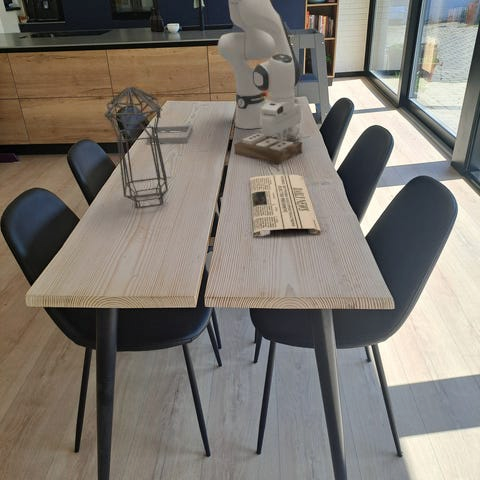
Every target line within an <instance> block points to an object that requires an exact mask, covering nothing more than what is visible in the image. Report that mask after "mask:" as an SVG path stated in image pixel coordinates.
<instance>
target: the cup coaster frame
mask: <svg viewBox="0 0 480 480" xmlns="http://www.w3.org/2000/svg"><path fill="white" fill-rule="evenodd" d="M155 128H156V126H155ZM193 129H194V128H193V125H167V126H157V131H158V132H161V131H165V132H167V133H171V132H170V131H187V132H185V135H184V136H167V137H158V139H159V143H175V144H188V143H189V141H188V140H190V138H191V136H192V134H193ZM153 130H154V129H153ZM149 134H150V135H151V136H153V135H152V131H151V132H150V133H149ZM154 136H155V132H154ZM146 138H149V135H148V136H147V137H146ZM146 143H150V139H146ZM152 143H154V142H153V138H152ZM155 143H156V141H155Z"/></svg>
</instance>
